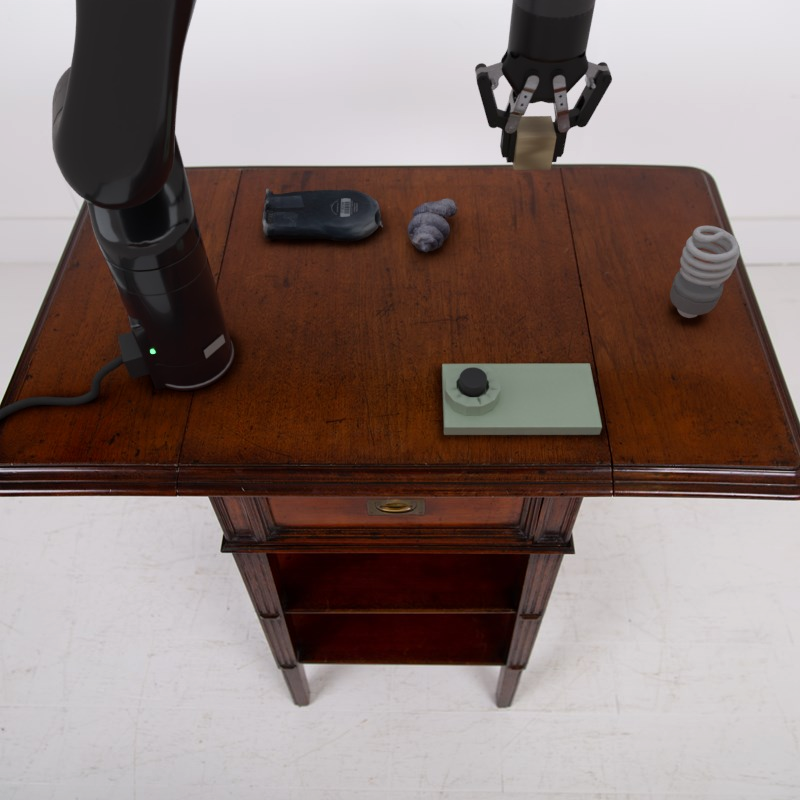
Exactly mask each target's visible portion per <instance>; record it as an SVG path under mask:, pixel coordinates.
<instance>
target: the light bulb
mask: <svg viewBox="0 0 800 800" xmlns="http://www.w3.org/2000/svg"><path fill="white" fill-rule="evenodd" d="M703 249H704V250H703ZM740 249H741V248H740V244H739V241H738V240H737V238H736V237H735V236H734V235H733V234H731V233H730V232H729V231H726V230H724V229H723V228H720V227H717V226H714V225H699V226H697V227H696V228H695V229H694V230H693V232H692V235H690V236H689V238H688V239H687V240H686V242H685V246H684V247H683V248H682V253H681V256H680V259H679V262H680V266H681V267H680V268H679V271H678V272H677V273H676V275H675V276H674V278H673V281H672V284H671V289H670V293H669V298H670V301H671V304H672V305H673V306H674V307H675V308H676V309H677V312H678V313H679V315H680V316H682V317H684V318H688V319H692V318H696V317H698V316H701V315H705V314H708V313H710V312H711V311H712V310H714V309H715V307H716V305H717V304H718V303H719V300H720V298H721V297H722V294H723V291H724V282H726V281H727V280H729V278H730V277H731V275H732V274H733V271H734V269H735V268H736V267H737V263H738V259H739V258H740V255H741V250H740ZM707 250H708V251H707Z"/></svg>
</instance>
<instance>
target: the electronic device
mask: <svg viewBox="0 0 800 800" xmlns="http://www.w3.org/2000/svg"><path fill="white" fill-rule="evenodd" d="M262 226H263V228H262V231H263V235H264V236H263V238H265V239H267V240H270V241H271V240H312V239H313V240H314V239H315V240H318V239H323V240H324V239H326V240H332V241H336V242H348V243H349V242H351V243H352V242H356V241H359V240H364V239H365V238H368V237H369V236H371V235H372V234H373V233H374V232H376V230H377V229H378V228H379V227H380V226H381V227H382V228H383V222H382V214H381V210H380V204H379V203H378V201H377V199H374V198H373V197H372V196H371V195H369V194H367V193H365V192H363V191H360V190H354V189H318V190H317V189H316V190H301V191H290V192H282V193H274V192H273V190H270V189H269V188H266V189H265V196H264V204H263V210H262Z"/></svg>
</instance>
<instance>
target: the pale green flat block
mask: <svg viewBox="0 0 800 800" xmlns="http://www.w3.org/2000/svg"><path fill="white" fill-rule="evenodd" d="M471 367H475V368H479V369H481V370H483V371H484V372H485V373H486V375H487V384H486V390H485V392H484V393H483V394H482V395H480V396H478V397H469V396H466V395H464V394H463V393H462V392H461V391H460V389H459V380H460V374H461V372H462V371H463V370H465V369H467V368H471ZM593 378H594V377H593V373H592V369H591V364H590V363H584V362H583V363H577V362H576V363H574V362H573V363H442V365H441V383H442V384H441V386H442V388H441V389H442V414H443V415H442V416H443V417H442V419H443V435H444V436H557V435H558V436H600V435H601V432H602V429H603V425H602V419H601V414H600V407H599V404H598V403H599V402H598V398H597V394H596V388H595V383H594V379H593Z"/></svg>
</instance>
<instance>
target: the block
mask: <svg viewBox="0 0 800 800" xmlns="http://www.w3.org/2000/svg"><path fill="white" fill-rule="evenodd" d="M553 122H554V121H553V117H552V115H527V116H526V115H525V116H524V115H523V116H522V117H521V119H520V122H519V124H518V126H517V129H516V131H517V138H516V146H515V154H514V161H513V163H512V168H513V171H551V170H552V165H553V164H552V163H553V162H552V160H553V154H554V148H555V142H556V133H555V129H554V125H553Z"/></svg>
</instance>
